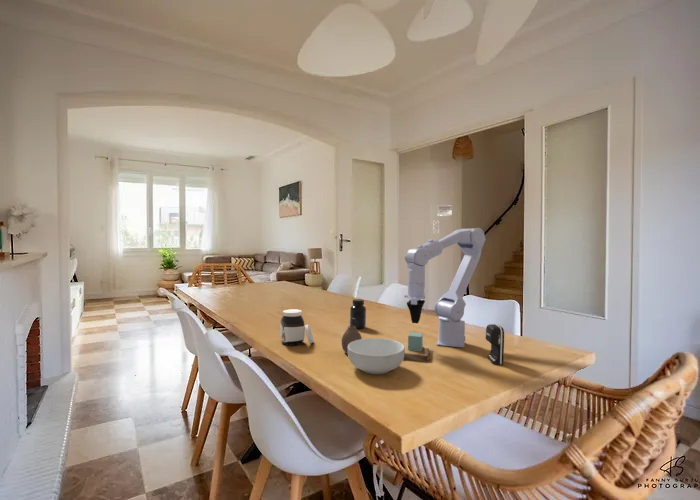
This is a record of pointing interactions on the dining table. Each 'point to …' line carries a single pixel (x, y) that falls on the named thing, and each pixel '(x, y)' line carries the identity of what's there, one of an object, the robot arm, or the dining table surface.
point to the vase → (350, 337)
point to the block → (415, 341)
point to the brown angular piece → (417, 356)
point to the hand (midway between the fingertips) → (415, 321)
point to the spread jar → (294, 328)
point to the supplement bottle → (358, 314)
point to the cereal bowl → (376, 354)
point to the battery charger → (495, 343)
